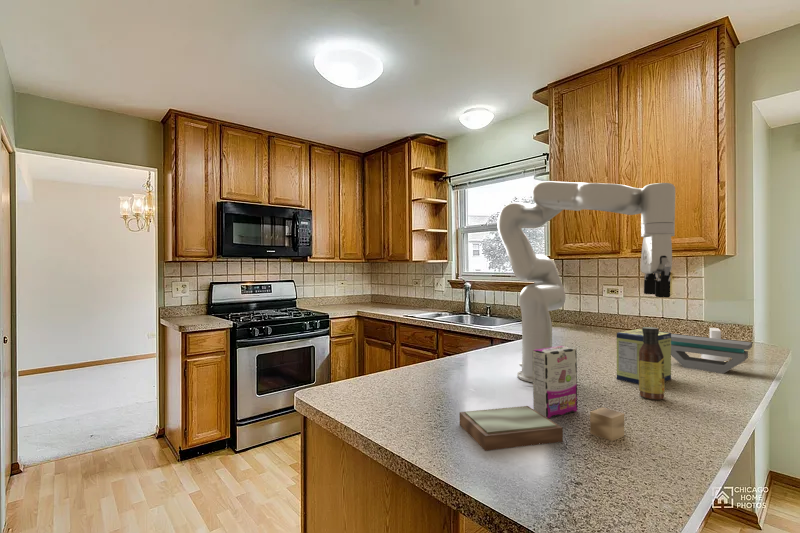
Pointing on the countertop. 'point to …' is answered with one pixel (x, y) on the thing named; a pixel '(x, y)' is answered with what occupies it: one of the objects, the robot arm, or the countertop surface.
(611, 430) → the oak block
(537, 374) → the candy bar box
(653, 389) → the sauce bottle
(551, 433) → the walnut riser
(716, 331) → the base with upright slab
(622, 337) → the protein box
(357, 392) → the countertop surface
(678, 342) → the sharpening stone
